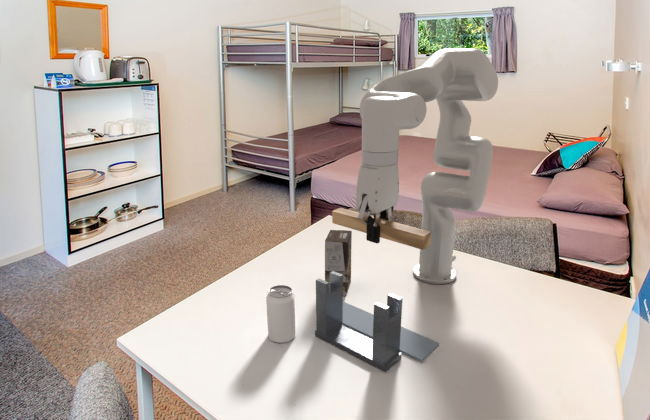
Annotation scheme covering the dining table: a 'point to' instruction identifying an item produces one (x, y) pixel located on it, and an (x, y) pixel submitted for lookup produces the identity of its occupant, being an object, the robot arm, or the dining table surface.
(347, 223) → the rail
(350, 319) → the mat
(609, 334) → the dining table surface
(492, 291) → the dining table surface
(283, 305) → the can
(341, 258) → the coffee box
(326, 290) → the rail rack
